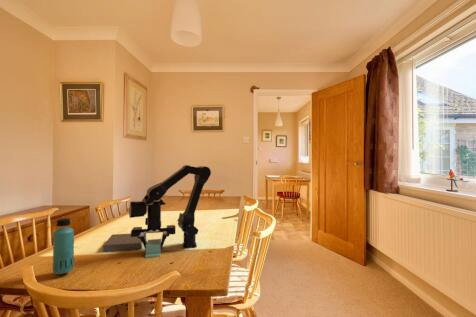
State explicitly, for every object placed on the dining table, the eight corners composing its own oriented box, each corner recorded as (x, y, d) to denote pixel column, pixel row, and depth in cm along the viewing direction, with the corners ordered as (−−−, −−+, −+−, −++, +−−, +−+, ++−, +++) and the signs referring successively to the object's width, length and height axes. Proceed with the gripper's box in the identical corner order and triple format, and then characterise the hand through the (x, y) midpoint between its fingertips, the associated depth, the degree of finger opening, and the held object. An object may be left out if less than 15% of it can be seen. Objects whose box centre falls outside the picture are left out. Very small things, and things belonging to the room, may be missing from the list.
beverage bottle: (57, 280, 86) (57, 222, 86) (48, 275, 90) (49, 219, 90) (77, 272, 92) (78, 218, 92) (68, 268, 95) (69, 216, 95)
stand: (141, 249, 116) (141, 242, 116) (103, 252, 112) (103, 245, 112) (145, 238, 131) (145, 232, 131) (112, 240, 128) (112, 234, 128)
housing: (160, 256, 107) (160, 245, 107) (145, 257, 106) (145, 246, 106) (161, 246, 119) (161, 237, 119) (148, 247, 118) (148, 238, 118)
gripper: (175, 210, 123) (175, 242, 123) (134, 212, 118) (134, 245, 118) (175, 215, 112) (175, 250, 112) (130, 217, 107) (130, 254, 107)
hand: (153, 249), depth 113 cm, fingers closed on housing, 6 cm apart
